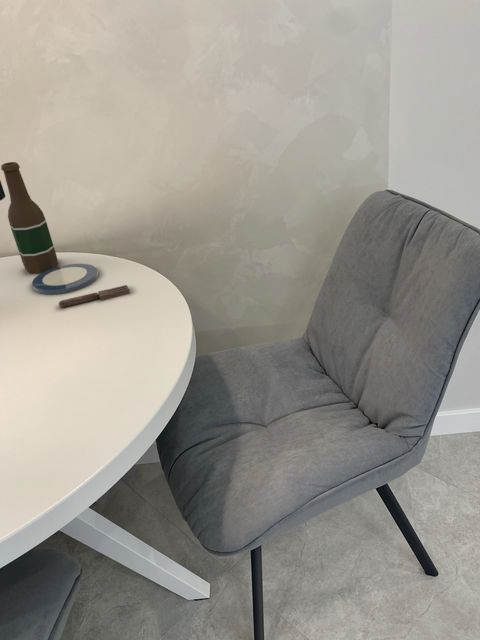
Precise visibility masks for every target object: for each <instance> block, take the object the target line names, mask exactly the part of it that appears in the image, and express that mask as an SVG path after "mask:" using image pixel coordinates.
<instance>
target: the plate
mask: <svg viewBox="0 0 480 640" xmlns="http://www.w3.org/2000/svg"><path fill="white" fill-rule="evenodd" d="M98 277H99V272H98V268H97V267H96V266H95V265H92V264H88V263H69V264H63V265H58V266H56V267H55V268H52V269H49V270H47V271H45V272H43V273H39V274H38V275H36V276H35V277H34V278H33V279H32V282H31V286H32V288H33V290H34V291H35V292H36V293H39V294H42V295H61V294H62V295H63V294H68V293H71V292H75V291H79V290H81V289H83V288H86V287H88V286H90V285H91V284H92V283H94V282H95V281H96V280H97V279H98Z"/></svg>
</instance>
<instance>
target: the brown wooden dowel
mask: <svg viewBox="0 0 480 640" xmlns="http://www.w3.org/2000/svg"><path fill="white" fill-rule="evenodd" d="M128 294H130V289H129V286H128V284H125V285H120V286H116V287H112V288H108V289H103V290H99V291H97V292H92V293H88V294H83V295H79V296H75V297H72V298H71V297H70V298H67V299H62V300H60V301H58V306H59V308H66V307H71V306H74V305H80V304H84V303H88V302H92V301H95V300H98V299H99V300H100V301H105V300H109V299H113V298H117V297H120V296H121V297H122V296H124V295H128Z"/></svg>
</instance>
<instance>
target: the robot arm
mask: <svg viewBox="0 0 480 640" xmlns="http://www.w3.org/2000/svg"><path fill="white" fill-rule="evenodd" d="M3 199H6V194H5V190H4V187H3V184H2V181H1V180H0V201H3Z"/></svg>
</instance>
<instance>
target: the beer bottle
mask: <svg viewBox="0 0 480 640" xmlns="http://www.w3.org/2000/svg"><path fill="white" fill-rule="evenodd" d="M0 167H1V168H0V169H1V171H3V175H4V179H5V182H6V186H7V190H8V194H9V200H10V203H9V206H8V210H7V219H8V223H9V227H10V229H11V233H12V236H13V238H14V242H15V245H16V247H17V251H18V253H19V256H20V260H21V262H22V264H23V267H24V269H25V270H26V272H27V273H28V274H31V275H35V274H38V275H39V274H41V273H43V272H45V271H47V270H49V269H52V268H55V267H59V260H58V256H57V251H56V250H55V246H54V243H53V240H52V235H51V232H50V230H49V226H48V222H47V219H46V216H45V214H44V212H43V210H42V209H41V207H40V206H39V205H38V204H37V203H36V202H35V201H33V199H32V197H31V195H30V194H29V192H28V189H27V187H26V184H25V182H24V181H25V180H24V178H23V176H22V173H21V171H20V168H21V167H20V165H19V163H18V162H16V161H9V162H4V163H3V164H1V165H0Z"/></svg>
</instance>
